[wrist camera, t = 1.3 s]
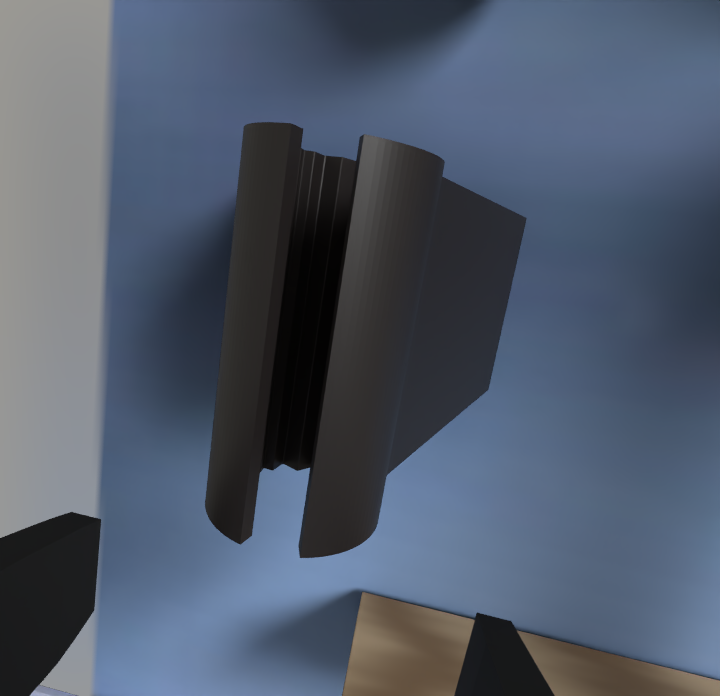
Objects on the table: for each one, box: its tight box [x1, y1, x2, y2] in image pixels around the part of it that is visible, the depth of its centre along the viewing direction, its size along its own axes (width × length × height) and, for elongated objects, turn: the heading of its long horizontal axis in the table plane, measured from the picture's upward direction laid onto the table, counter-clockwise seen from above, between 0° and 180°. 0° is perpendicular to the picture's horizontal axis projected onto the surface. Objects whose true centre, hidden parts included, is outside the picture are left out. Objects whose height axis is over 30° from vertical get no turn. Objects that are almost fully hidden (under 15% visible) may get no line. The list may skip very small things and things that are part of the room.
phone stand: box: [205, 122, 526, 558], centre depth 13 cm, size 9×6×12 cm, turn 80°
